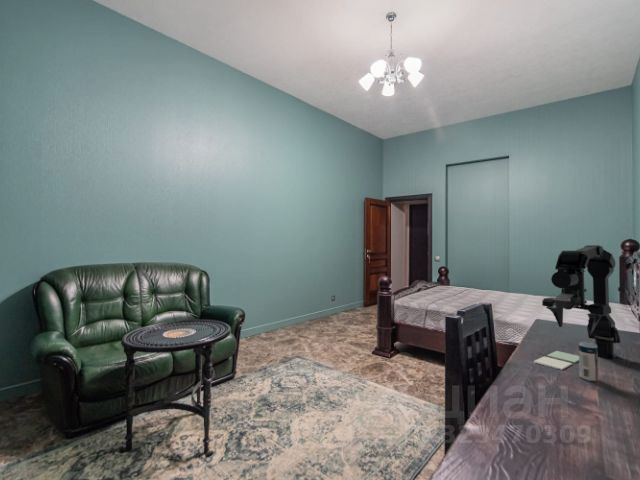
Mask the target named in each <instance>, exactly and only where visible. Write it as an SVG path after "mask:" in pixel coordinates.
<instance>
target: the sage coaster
mask: <svg viewBox="0 0 640 480" xmlns="http://www.w3.org/2000/svg"><path fill="white" fill-rule="evenodd" d="M546 357H549V358H553V359H557V360H561V361H565V362H569V363H572V364H576V363H578V362H579V355H577V354H572V353H568V352H563V351H559V350H556V351H553V352H551V353H549V354H547V355H546Z"/></svg>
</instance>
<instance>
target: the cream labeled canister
mask: <svg viewBox="0 0 640 480" xmlns="http://www.w3.org/2000/svg"><path fill="white" fill-rule="evenodd" d="M578 356H579V361H578V362H579V363H578V366H579V368H578V369H579V377H580V378H581V379H583V380H585V381H589V382H596V381H597V382H598V381H599V356H598V347H597V345H596V343H595V341H594V342H593V341H589V340H580V342H579V344H578Z"/></svg>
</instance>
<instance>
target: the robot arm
mask: <svg viewBox="0 0 640 480" xmlns="http://www.w3.org/2000/svg"><path fill="white" fill-rule="evenodd" d="M615 267H616V260H615V257H614V256H613V253H610V252H609V251H607V250H606V249H604V247H603V246H602V245H599V244H597V245H596V244H595V245H588V244H587V245H584V247H581V248H578V249H576V250H561V252H560V253H559V255H558V257H557V261H556V264H555V270H557V271H556V272H554V273H553V274H552V276H551V279H550V280H551V283H552V284H553V286H555V288H559V289H561V292H560V294H558V295H557V296H556V297H545V298H543V300H542V301H541V306H542V307H546V309H548V310H549V311H550V312H552V314H553V316H554V318H555V320H556V322H557V325H558V327H559V328H563V323H564V310H568V311H569V310H572V309H579V310H585V311H588V312H589V313H587V314H586V315H587V316H588V323H587V326H586V330H587V336H588V339H593V340H594V343H596V345H597V347H598V357H601V358H606V359H611V360H613V359H615V358H616V357H617V358H618V354H616V353H615V346H614V345H615V344H620V343H621V335H620V333H619V331H618V328H617V327H616V322H615V320H614V319H613V318H612V317H611V315H610V314H612V307H611V306H610V295H609V293H610V288H609V278H610V277H611V276H612V274H613V273H614V270H615ZM585 269H587V270H585ZM586 271H587V272H588V274H589V275H590V276H591V277H592V292H593V293H592V294H593V296H592V298H593V303H591V304H588V302H587V300H586V299H585V298H586V297H585V296H586V295H585V293H586V292H587V288H585V272H586Z"/></svg>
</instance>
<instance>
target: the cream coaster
mask: <svg viewBox="0 0 640 480" xmlns="http://www.w3.org/2000/svg"><path fill="white" fill-rule="evenodd" d="M533 363H534V364H539V365H542V366H545V367H550V368H553V369H557V370H559V371H563V370H565V369H566V368H568V367H571V366H572V365H573V363H572V362H568V361H564V360H560V359H555V358H551V357H547V356H542V357H539V358H537V359H535V360H534V361H533Z"/></svg>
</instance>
